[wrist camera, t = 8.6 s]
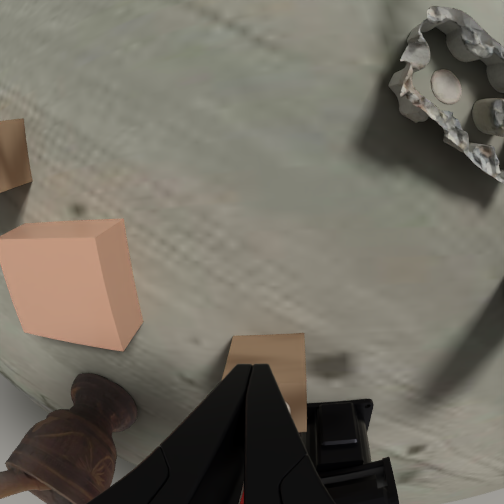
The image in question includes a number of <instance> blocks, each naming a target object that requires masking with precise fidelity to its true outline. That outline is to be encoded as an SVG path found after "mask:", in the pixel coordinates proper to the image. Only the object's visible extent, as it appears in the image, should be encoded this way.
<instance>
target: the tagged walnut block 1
mask: <svg viewBox="0 0 504 504" xmlns="http://www.w3.org/2000/svg"><path fill="white" fill-rule="evenodd" d="M29 182H32V176H31V170H30V164H29V157H28V151H27V143H26V135H25V126H24V119H14V120H6V121H0V193H1V192H4V191H6V190H9V189H12V188H15V187H17V186H20V185H23V184H26V183H29Z"/></svg>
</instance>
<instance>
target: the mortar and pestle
mask: <svg viewBox="0 0 504 504" xmlns="http://www.w3.org/2000/svg"><path fill="white" fill-rule="evenodd" d="M71 397H72V401H73V403H74V406H73V407H72V408H71V409H70V410H65V409H59V410H55V411H53V412H51V413H49V414H48V416H47V418H46V419H45V420H43V421H40V422H38V423H36V424H35V425H34V426H33V427H32V428H31V429H30V430H29V431H28V432H27V434H26V435H25V436H24V438H23V439H22V441H21V443H20V444H19V445H18V447H17V448H16V449H15V450H14V452H13V453H12V454H11V456H10V457H9V459H8V460H7V461H6V463H5V464H6V467H7V468H8V470H7V471H3V472H0V499H2V498H5V497H7V496H10V495H13V494H17V493H20V492H23V491H30V492H31V493H32V494H34V495H36V496H37V497H38V498H39V499H41V500H42V501H44V502H46V503H47V504H86V503H88V502H89V501H90V500H92V499H93V498H95V497H96V496H98V495H99V494H101V493H102V492H104V491H105V490H106V489H108V488H109V487H110V485H111V483H112V479H113V475H114V471H115V464H116V458H117V454H116V448H115V445H114V442H113V439H112V432H120V431H123V430H125V429H127V428H129V427H130V426H131V425H132V424H133V423H134V422H135V421H136V418H137V407H136V405H135V403H134V400H133V398H131V396H130V395H129V394H128V393H127V392H126V391H125V390H124V389H123V388H121V387H120V386H119V385H117V384H115V383H113V382H112V381H110V380H108V379H106V378H105V377H102V376H99V375H96V374H92V373H82V374H79V375H78V376H77V377H76V379H75V380H74V382H73V385H72V388H71Z"/></svg>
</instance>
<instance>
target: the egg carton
mask: <svg viewBox="0 0 504 504" xmlns="http://www.w3.org/2000/svg"><path fill="white" fill-rule="evenodd" d="M427 17H428V18H427V19H426V20H424V21H423V22H422V23H421V24H419V25H418V26H417V27H415V28H414V29H412V31H411V33H410V35H409V37H408V39H407V42H408V43H409V44H408V46H407V48H406V50H405V51H404V53H403V55H402V57H401V59H400V61H401V62H406V66H405V68H404V69H402V70H400V71H397V72H396V73H394V74H393V76H392V78H391V80H390V82H389V85H388V86H389V88H390V89H391V90H392V91H393V92H394V93H395V94H396V96H397V98H398V101H399V112H400V113H401V114H402V115H403V116H405V117H407V118H409V119H410V120H412V121H414V122H415V123H417V122H419V121H421V122H423V121H426V120H427V119H428V118H430V117H431V118H432V119H434V120H435V121H436V122H437V123H438V124H439V125H440V126H441V127H442V128H443V130H444V139H443V142H445V143H447V144H449V145H450V146H452V147H454V148H456V149H457V150H459V151H460V152H464V153H465V154H466V155H467V156H468V157H469V158H470V160H471V161H472V162H473V163H474V164H475V165H477V166H478V167H479V168H480V169H481V170H482V171H483V172H484V173H486V174H487V175H489V176H492V177H494V178H495V179H496V180H498V181H500V182H502V183H503V184H504V170H503V169H499V159H498V157H497V156H496V153H495V148H494V147H493V146H491V145H484V144H477V143H471V142H469V138H468V133H467V132H465V131H463V130H462V128H461V124H460V122H459V120H458V119H456V118H454V117H453V112H450V111H440V110H439V109H438V107H437V106H436V105H434V104H433V103H432V102H431V101H429V100H428V99H426V98H425V97H424V96H422V95H421V94H420V93H419V92H418V91H417V90H416V89H415V88H414V86H413V84H412V74H413V73H414V72H416V71H419V70H421V69H423V68H425V66H427V65H428V64H429V61H430V48H429V46H428V44H427V42H426V40H425V39H424V38H423V35H422V33H421V32H427V31H429V30H431V29H433V28H434V27H436V28H438V29H439V30H441V31H442V32H444V33H445V34H446V44H447V47H448V49H449V51H450V52H451V54H452V55H453V56H454V57H455V58H456V59H458V60H459V61H462V62H470V61H474V60H479V59H480V60H481V61H482V62H484V63H485V64H486V65H487V77H488V80H489V82H490V84H491V85H492V87H493V88H494V89H495V90H496V91H498V92H500V93H504V47H503V46H502V45H501V44H500V43H498V42H497V41H496V40H494V39H493V38H492V37H491V36H490V35H489V34H488V33H487V32H486V31H485V30H484V29H483V28H482V27H481V26H480V25H479V24H478V23H477V22H476V21H475V20H474V19H473V18H472V17H471V16H469V15H468V14H466V13H465V12H463V11H461V10H458V9H454V8H447V7H439V6H431V7H430V8H429V9H428V11H427ZM431 88H432V91H433V93H434V95H435V96H436V97H437V98H438V100H439V101H441V102H443V103H446V104H454V103H456V102H457V101H459V99H460V97H461V93H462V88H461V84H460V81H459V79H458V78H457V77H456V76H455V75H454V74H453V72H451V71H449V70H446V69H440V70H437V71H435V72H434V73H433V75H432V77H431ZM472 117H473V121H474V123H475V125H476V127H477V128H478V130H480V131H481V132H482V133H485V134H490V135H496V136H500V137H501V136H502V137H504V99H502V98H487V99H480V100H478V101H476V103H475V104H474V106H473V109H472Z"/></svg>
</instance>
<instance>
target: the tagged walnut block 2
mask: <svg viewBox="0 0 504 504" xmlns="http://www.w3.org/2000/svg"><path fill="white" fill-rule="evenodd" d="M264 363H267V364H269V366H270V368H271V370H272V373H273V375H274V377H275V380H276V382H277V384H278V387H279V389H280V391H281V394H282V396H283V398H284V400H285V403H286V405H287V407H288V410H289V412H290V414H291V416H292V419H293V421H294V423H295V425H296V428H297V430H298V432H307V394H306V361H305V340H304V333H296V334H276V335H249V336H233V338H232V342H231V346H230V350H229V354H228V358H227V362H226V366H225V369H224V373H223V377H222V380H223V379H224V377H225V376H226V375H227V374H228V373H229V372H230V371H231V370H232V369H233V368H234V367H235V365H237V364H252V365H254V364H264Z"/></svg>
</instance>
